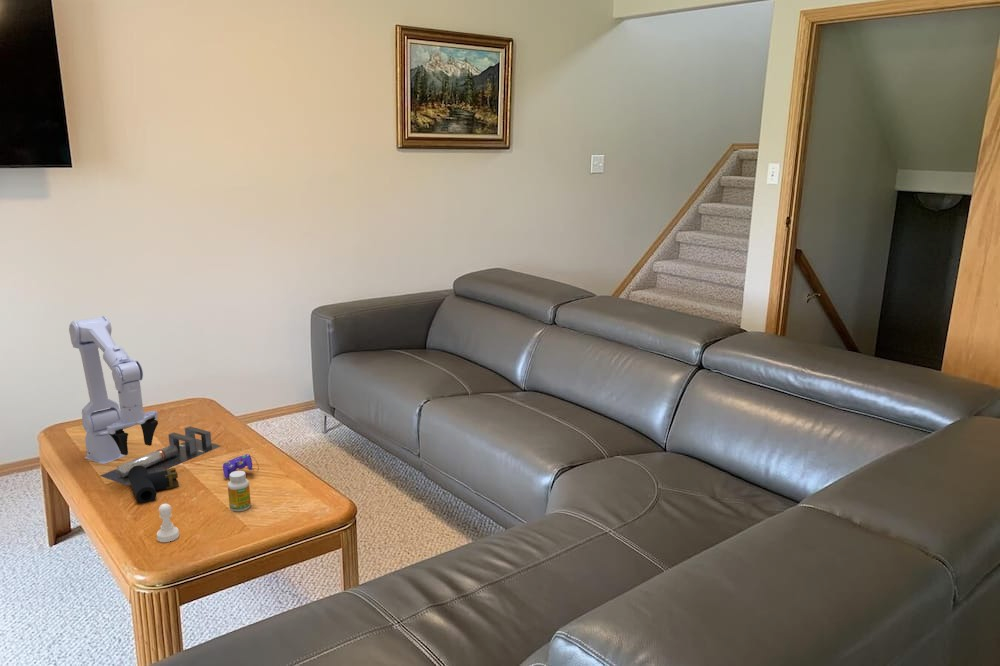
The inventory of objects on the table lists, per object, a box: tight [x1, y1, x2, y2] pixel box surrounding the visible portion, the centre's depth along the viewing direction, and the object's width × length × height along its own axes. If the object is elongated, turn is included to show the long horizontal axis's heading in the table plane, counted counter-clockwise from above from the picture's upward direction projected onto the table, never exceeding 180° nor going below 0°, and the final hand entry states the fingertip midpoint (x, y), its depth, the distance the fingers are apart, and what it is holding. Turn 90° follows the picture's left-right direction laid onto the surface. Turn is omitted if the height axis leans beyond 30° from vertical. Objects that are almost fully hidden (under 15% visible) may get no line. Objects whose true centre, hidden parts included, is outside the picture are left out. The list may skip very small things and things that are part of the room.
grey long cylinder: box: [116, 444, 178, 478], centre depth 223 cm, size 18×4×4 cm, turn 151°
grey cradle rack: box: [99, 426, 222, 487], centre depth 227 cm, size 13×33×6 cm, turn 151°
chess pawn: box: [156, 503, 180, 543], centre depth 183 cm, size 5×5×9 cm
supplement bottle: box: [227, 470, 252, 512], centre depth 198 cm, size 5×5×10 cm
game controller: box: [222, 454, 259, 479], centre depth 218 cm, size 10×8×10 cm
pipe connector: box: [128, 466, 179, 505], centre depth 208 cm, size 12×5×15 cm
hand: (136, 449), depth 212 cm, fingers open, 7 cm apart
